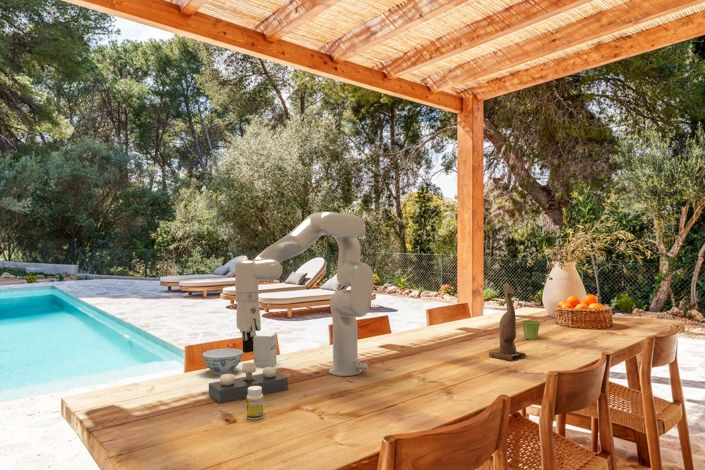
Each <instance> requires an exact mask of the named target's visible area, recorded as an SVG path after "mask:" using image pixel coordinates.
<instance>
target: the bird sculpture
mask: <svg viewBox="0 0 705 470" xmlns="http://www.w3.org/2000/svg"><path fill="white" fill-rule="evenodd" d="M502 288H503V289H502V290H503V293H504V298H505V301H506V302H505V303H506V312H504V313H503V315H502V316H501V317H500V321H499V332H498V333H499V349H497V350H496V349H495V350H493V351H492V350H491V351H489V352H488V357H489V358H493V359H496V360H498V359H499V360H501V361H508V362H511V361H512V359H513V357H515V356H516V357H522V358H527V354H526V353H525V352H521V351H517V346H516V344H515V340H516V338H517V324H516V323H517V322H516V321H517V320H516V319H517V318H516V311H515V306H514V303H513V300H512V297H511V296H513V297H516V290H515V289H514V288H512V287H511V285H510V283H509V282H506V283H505V284H503V287H502Z"/></svg>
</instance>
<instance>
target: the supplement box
mask: <svg viewBox="0 0 705 470" xmlns="http://www.w3.org/2000/svg"><path fill="white" fill-rule="evenodd" d="M253 349H254V351H253V363H255V364H256V368H265V367H274V365H276V364H277V333H275V332H259V333H258V334H256V336H254V340H253Z"/></svg>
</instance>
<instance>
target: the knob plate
mask: <svg viewBox="0 0 705 470" xmlns="http://www.w3.org/2000/svg"><path fill="white" fill-rule="evenodd" d="M251 386H260V387H262V394H263V395H268V394H272V393H277V392H282V391H287V390H289V377H287V376H286V375H283V374H281V373H279V372H277V371H276V376H274V377H272V378H267V377H264V376H263V373H258V374H254V375H253V374H252V381H251V382H246V376H243V377H237V378H235V377H234V383H233V384H231V385H230V386H225V387H224V385H221V384H220V380H219V381H215V382H214V381H213V382H210V383H208V396H209V397H210V398H211V399H213V400H214V401H215V402H217V403H218V404H224V403H228V402H232V401H239V400H243V399H247V395H248V388H249V387H251Z"/></svg>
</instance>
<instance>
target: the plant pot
mask: <svg viewBox="0 0 705 470" xmlns="http://www.w3.org/2000/svg"><path fill="white" fill-rule="evenodd" d="M520 323H521V325H522V329H523V334H524V335H523V337H524V339H525V340H527V339H528V340H530V341H531V340H532V341H533V340H534V341H535V340H538V335H539V329H540V326H541V321H538V320H533V319H528V320H527V319H525V320H524V319H523V320H521V321H520Z"/></svg>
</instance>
